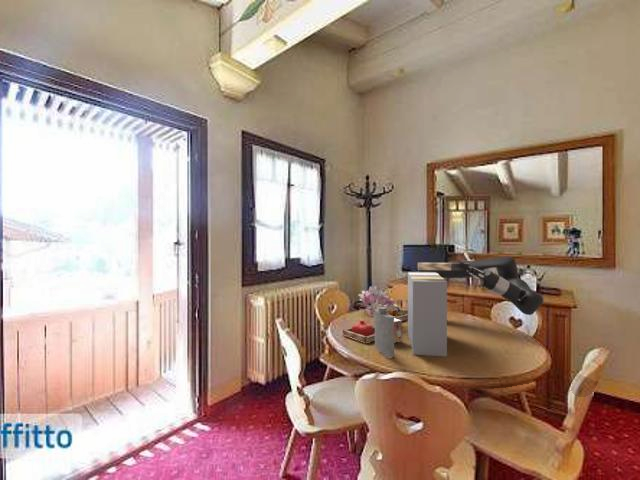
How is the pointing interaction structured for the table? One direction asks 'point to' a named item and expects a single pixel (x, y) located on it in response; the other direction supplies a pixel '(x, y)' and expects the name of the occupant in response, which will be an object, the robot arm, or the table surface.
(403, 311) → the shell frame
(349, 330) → the frame
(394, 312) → the nautilus
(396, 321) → the small box
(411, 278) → the cabinet
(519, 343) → the table surface
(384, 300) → the flower
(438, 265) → the dark brown square bar
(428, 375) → the table surface
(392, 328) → the hip flask
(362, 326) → the butter dish
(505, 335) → the table surface
